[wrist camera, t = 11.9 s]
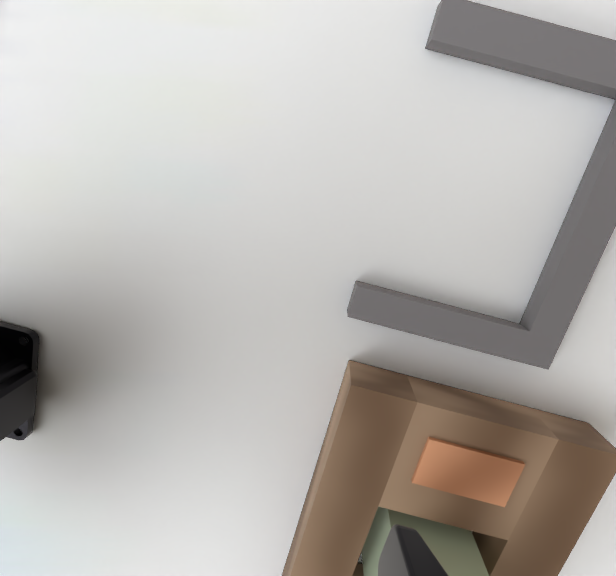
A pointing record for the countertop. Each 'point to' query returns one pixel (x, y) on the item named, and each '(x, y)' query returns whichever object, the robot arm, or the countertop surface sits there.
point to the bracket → (580, 217)
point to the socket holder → (449, 474)
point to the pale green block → (439, 537)
